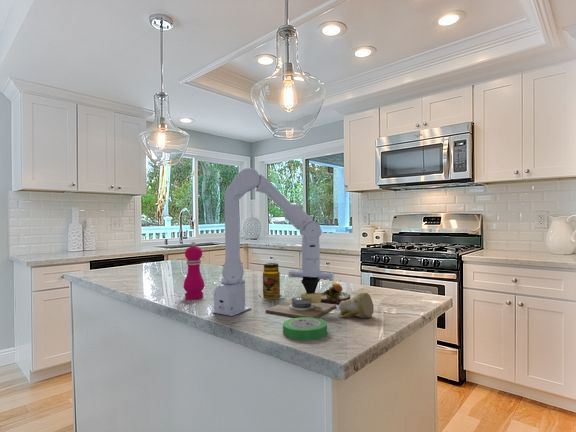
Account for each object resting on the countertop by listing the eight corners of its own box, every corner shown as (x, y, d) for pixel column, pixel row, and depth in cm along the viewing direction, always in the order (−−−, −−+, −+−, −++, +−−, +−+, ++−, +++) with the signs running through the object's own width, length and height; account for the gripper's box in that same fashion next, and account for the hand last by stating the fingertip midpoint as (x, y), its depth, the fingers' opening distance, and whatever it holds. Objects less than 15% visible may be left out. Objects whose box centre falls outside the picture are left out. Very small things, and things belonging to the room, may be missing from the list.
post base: (312, 320, 103) (312, 316, 103) (265, 312, 111) (265, 308, 111) (335, 307, 117) (335, 303, 117) (292, 301, 125) (292, 297, 125)
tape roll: (274, 335, 91) (274, 325, 91) (297, 324, 101) (297, 314, 100) (313, 344, 85) (312, 333, 85) (334, 331, 94) (334, 321, 94)
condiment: (264, 300, 127) (263, 265, 127) (258, 295, 135) (258, 262, 135) (284, 298, 129) (284, 264, 129) (277, 293, 137) (277, 261, 137)
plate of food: (325, 295, 135) (324, 274, 135) (355, 298, 129) (355, 277, 129) (309, 302, 125) (309, 280, 125) (342, 306, 119) (342, 283, 119)
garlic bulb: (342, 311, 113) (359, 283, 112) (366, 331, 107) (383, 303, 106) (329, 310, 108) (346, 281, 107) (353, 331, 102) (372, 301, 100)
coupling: (293, 308, 110) (293, 296, 110) (290, 303, 116) (290, 292, 116) (322, 306, 112) (322, 295, 112) (317, 301, 118) (317, 290, 118)
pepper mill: (199, 300, 127) (198, 242, 126) (179, 300, 128) (179, 242, 128) (207, 296, 134) (207, 241, 134) (189, 295, 135) (188, 240, 135)
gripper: (284, 259, 116) (285, 301, 116) (329, 261, 111) (329, 306, 111) (292, 256, 123) (293, 297, 123) (335, 258, 117) (335, 300, 117)
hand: (310, 301), depth 117 cm, fingers closed
